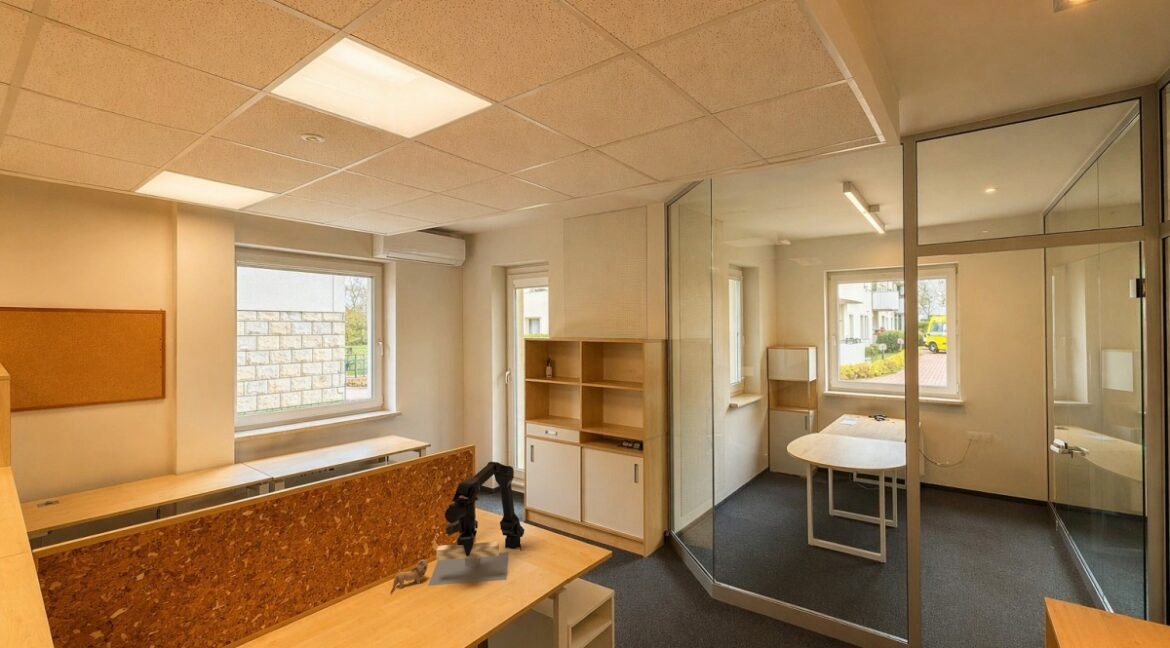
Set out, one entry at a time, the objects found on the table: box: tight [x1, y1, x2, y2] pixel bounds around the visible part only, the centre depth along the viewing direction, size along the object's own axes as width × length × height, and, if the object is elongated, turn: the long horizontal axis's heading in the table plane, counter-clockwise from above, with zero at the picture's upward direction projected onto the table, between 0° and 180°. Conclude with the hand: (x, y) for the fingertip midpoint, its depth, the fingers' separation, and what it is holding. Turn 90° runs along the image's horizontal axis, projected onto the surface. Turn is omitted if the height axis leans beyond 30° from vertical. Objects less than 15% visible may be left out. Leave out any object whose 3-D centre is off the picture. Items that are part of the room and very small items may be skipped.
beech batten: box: [436, 541, 500, 561], centre depth 199 cm, size 24×4×4 cm, turn 97°
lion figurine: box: [389, 559, 428, 594], centre depth 194 cm, size 15×5×9 cm, turn 131°
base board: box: [428, 551, 509, 586], centre depth 207 cm, size 30×25×1 cm
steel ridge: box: [465, 557, 479, 568], centre depth 211 cm, size 5×8×5 cm, turn 7°
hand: (468, 553), depth 199 cm, fingers closed on beech batten, 4 cm apart
